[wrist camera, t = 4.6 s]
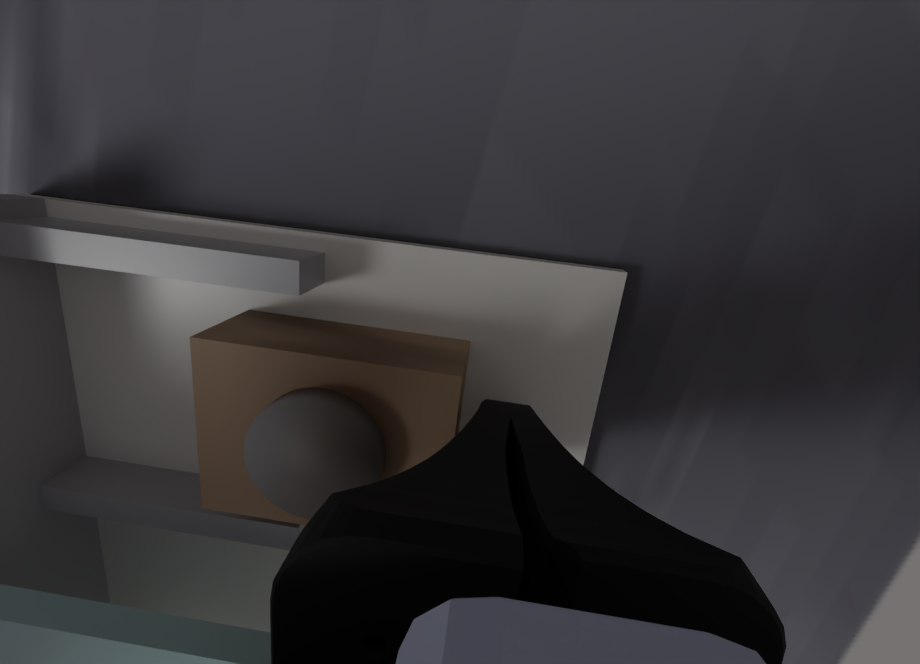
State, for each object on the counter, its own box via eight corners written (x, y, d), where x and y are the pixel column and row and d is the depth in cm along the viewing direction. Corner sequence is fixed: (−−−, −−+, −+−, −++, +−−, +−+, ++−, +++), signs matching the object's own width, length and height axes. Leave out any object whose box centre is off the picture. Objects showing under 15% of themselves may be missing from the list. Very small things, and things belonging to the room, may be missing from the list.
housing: (105, 641, 17) (6, 752, 14) (27, 194, 12) (-158, 195, 9) (521, 717, 16) (526, 856, 13) (622, 269, 11) (673, 303, 8)
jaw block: (253, 454, 13) (185, 525, 11) (249, 310, 12) (169, 346, 9) (451, 485, 13) (436, 567, 10) (470, 340, 12) (459, 388, 9)
